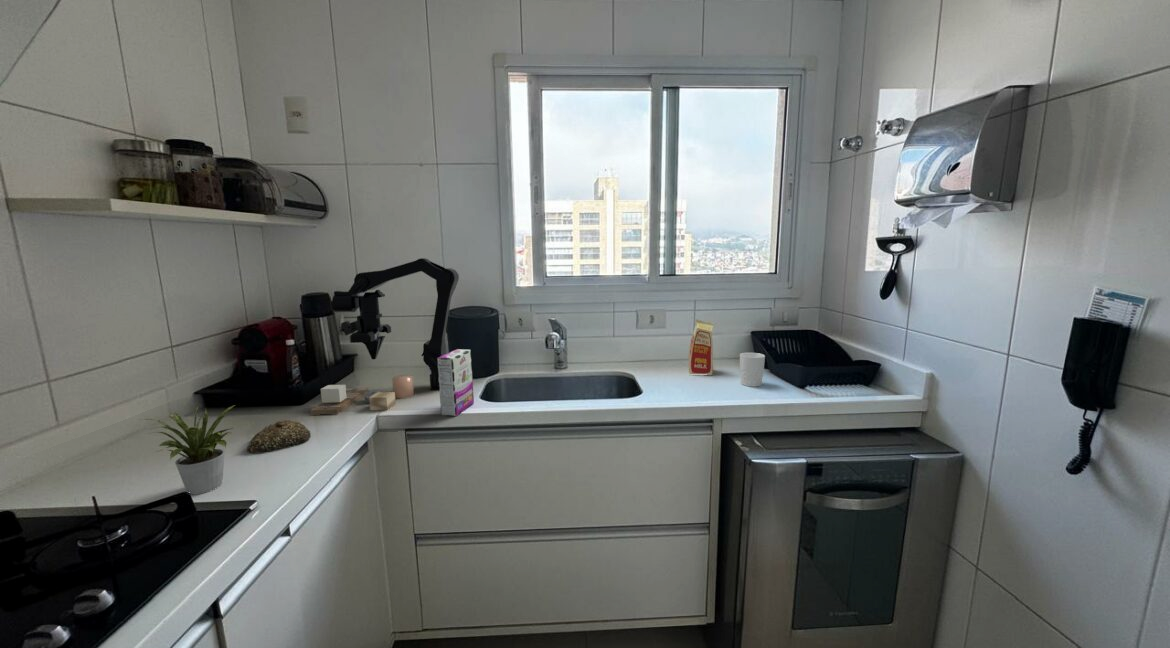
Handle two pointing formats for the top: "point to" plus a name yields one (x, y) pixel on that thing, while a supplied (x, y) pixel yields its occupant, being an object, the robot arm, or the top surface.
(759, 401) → the top surface
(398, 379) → the pink pillar candle
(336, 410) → the board
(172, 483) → the top surface
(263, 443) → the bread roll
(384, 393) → the oak block
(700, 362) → the milk carton
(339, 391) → the white block
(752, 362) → the white cup
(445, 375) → the candy bar box
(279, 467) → the top surface
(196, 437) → the house plant
